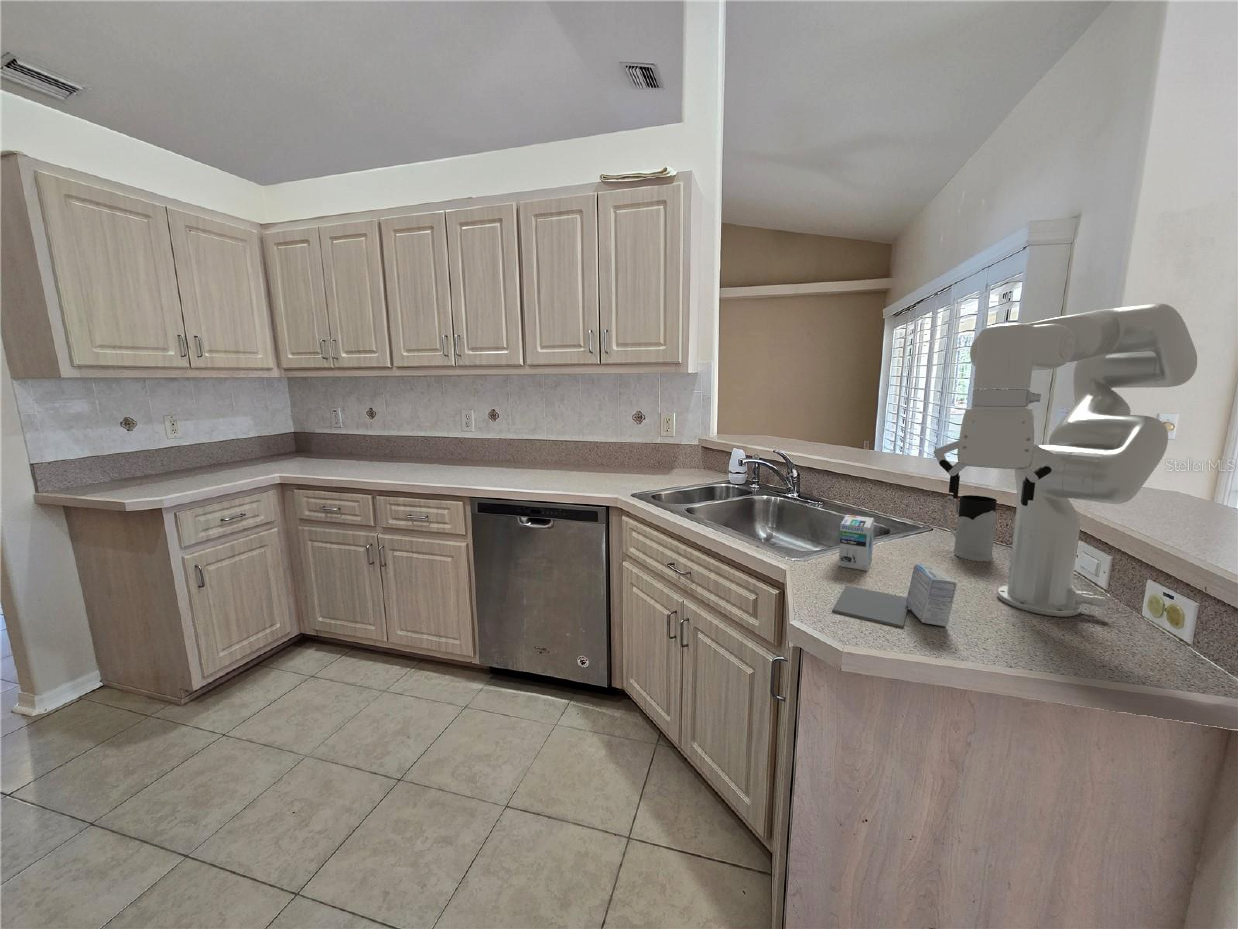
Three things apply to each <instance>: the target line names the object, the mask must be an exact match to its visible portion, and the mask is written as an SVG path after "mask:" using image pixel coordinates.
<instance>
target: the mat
mask: <svg viewBox="0 0 1238 929" xmlns="http://www.w3.org/2000/svg"><path fill="white" fill-rule="evenodd" d="M906 600H907V596H901V595H897V594H891V593H886V592H881V591H876V590H872V589H866V588H861V587H855V586H852V585H847V584H846V585H845V587H844V588H843V590H842V592H841V593H840V595H839V597H838V599H837V600H836V602H835V604H834V606H833V607H832V609H831V610H832V613H835V614H840V615H845V616H849V617H853V618H858V619H862V620H866V621H870V622H874V623H875V622H876V623H880V624H884V625H888V626H891V627H892V626H893V627H896V626H897V628H902V629H903V628H904V626H905V624H906V618H907V612H908V609H909V607H908V606H907V605H906Z"/></svg>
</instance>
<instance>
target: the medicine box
mask: <svg viewBox="0 0 1238 929" xmlns="http://www.w3.org/2000/svg"><path fill="white" fill-rule="evenodd" d="M957 586H958V583H957V582H956V581H955V580H954V579H953V578H951V576H949V575H948V574H947V573H946V572H944V571H943V570H941V569H940V568H939V567H937V566H936V567H935V566H930V565H925V564H924V565H923V564H914V567H913V570H912V575H911V578H910V584H909V587H908V591H907V596H906V597H907V600H906V605H907V606H908V609H909V610H910V611H912V613H913V614H914V615H915V616H916V617H917V618H918V620H919V621H920V622H921V623H923V624H928V625H934V626H940V627H943V628H945V627H948V625H949V619H950V615H951V611H952V608H953V603H954V598H955V595H956V591H957Z"/></svg>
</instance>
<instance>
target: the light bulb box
mask: <svg viewBox="0 0 1238 929" xmlns="http://www.w3.org/2000/svg"><path fill="white" fill-rule="evenodd" d="M839 528H840V531H839V533H840V535H839V550H838V567H843V568H848V569H849V568H850V569H852V570H853V569H854V570H859V571H866V572H868V571H869V569H870V565H871V563H872V560H873V548H874V536H875V534H874V532H875V518H874V517H867V516H859V515H853V514H852V515H851V514H846V515H845V516H844V518H843V520H842V521H841V523H840V527H839Z"/></svg>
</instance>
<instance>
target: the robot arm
mask: <svg viewBox="0 0 1238 929" xmlns="http://www.w3.org/2000/svg"><path fill="white" fill-rule="evenodd" d="M969 358H970V361H971V363H972V366H974V367H975V368H974V369H975V370H974V378H973V386H972V387H973V388H972V389H973V390H972V397H971V398H972V399H971V407H970V408H968V407H967V408H965V411H964V413H963V416H962V419H961V425H960V431H959V435H958V436H959V437H958V440H955V441H954V442H950V443H949V444H945V445H942V446H940V447H938V448H935V449H934V450H933V455H934V457H935V459H936V461H937V462H938V464H939V466H940V467H941V468H942V469H944V471H945V472H947V474H948V475H949V476H950V477H949V485H948V494H952V497H953V499H956V500H957V499H958V498H959V489H960V478H961V475H960V472H961V471H962V470H964V469H965V468H966V467H971V468H972V467H974V468H975V467H976V468H988V469H1002V470H1014V479H1015V484H1016V485H1015V486H1016V508H1015V512H1016V513H1015V518H1014V528H1013V536H1012V548H1011V555H1010V564H1009V570H1008V571H1009V572H1008V573H1009V574H1008V579H1007V580H1008V581H1007V585H1002V586H1000V587H998V588H997V590H996V596H997V597H998V599H1000V600H1001V601H1003V602H1004V603H1006V604H1008V605H1010V606H1012V607H1014V608H1017V609H1020V610H1023V611H1026V612H1030V613H1034V614H1038V615H1044V616H1049V617H1050V616H1051V617H1074V616H1076V615H1079V614H1080V613H1081V608H1082V607H1081V606H1082V604H1083V605H1088V606H1092V607H1096V608H1105V607H1106V597H1103V596H1099V595H1097V596H1096V595H1094V593H1093V592H1089V591H1080V590H1078V589H1077V588H1075V586H1074V585H1073V582H1074V574H1075V569H1076V568H1075V566H1076V559H1077V553H1078V552H1077V551H1078V544H1079V536H1080V532H1081V531H1080V529H1081V520H1080V515H1079V513H1078V511H1077V509H1076V508H1075V506H1074V505H1073V504H1072V502H1071V501H1070V499H1075V500H1082V501H1088V502H1094V503H1100V504H1109V505H1121V504H1125V503H1128V502H1129V501H1132V499H1134V497H1136V495H1137V494H1138V493H1139V492H1140V490H1141V489H1142V488H1143V486H1144V485H1145V483H1146V482H1147V481H1148V479H1149V478H1150V476H1151V475H1152V474H1153V472H1154V471H1155V469H1156V468H1157V467H1158V465H1159V464H1160V463H1161V460H1163V457H1164V455H1165V453H1166V450H1167V448H1168V442H1169V431H1168V428H1167V426H1166V425H1165V423H1164V422H1163V421H1162V420H1160V419H1158V418H1156V417H1153V416H1150V415H1149V416H1148V415H1143V414H1142V415H1137V414H1131V411H1132V410H1131V408H1130V406H1129V404H1128V403H1127V401H1126V400H1125V399H1124V398H1123V397H1122V396H1121V395H1120V394H1119V393H1118V392H1116V391H1115V390H1113V389H1114V388H1115V389H1118V388H1120V389H1121V388H1124V389H1125V388H1126V389H1131V388H1133V389H1134V388H1136V389H1137V388H1147V389H1148V388H1171V387H1172V388H1173V387H1178V386H1182V385H1184V384H1186V383H1187V382H1188V381H1190V380H1191V379H1192V377H1194V375H1195V373H1196V371H1197V367H1198V355H1197V350H1196V347H1195V344H1194V341H1193V340H1192V337H1191V334H1190V333H1189V329H1188V327H1187V325H1186V322H1185V321H1184V318H1183V317H1182V315H1181V314H1180V313H1179V311H1178V310H1177V309H1175V308H1174V307H1172V306H1171V305H1169V304H1166V303H1150V304H1149V303H1148V304H1142V305H1134V306H1131V305H1130V306H1123V307H1115V308H1103V309H1097V310H1093V311H1092V310H1091V311H1087V312H1082V313H1077V314H1070V315H1065V316H1059V317H1053V318H1048V319H1047V318H1046V319H1044V320H1039V321H1033V322H1027V323H1023V322H1020V323H1018V322H1017V323H1016V322H1015V323H1014V322H1013V323H1002V324H994V325H990V326H987V327H984V328H983V329H981V330H980V332H979V334H978V335H977V336H976V338H975V339H974V340H973V342H972V344H971V347H970V351H969ZM1074 362H1075V365H1074V368H1073V398H1074V404H1073V406H1072V408H1071V409H1070V410H1069V411H1068V412H1067V413H1066V415H1064V417H1063V418H1062V419H1061V420H1060V422H1058V424H1057V425H1056V426H1055V427H1054V430H1052V432H1051V434H1050V436H1049V439H1048V444H1040V445H1038V444H1036V443H1035V425H1034V424H1035V419H1034V418H1035V417H1034V411H1033V410H1034V409H1032V408H1030V409H1029V405H1030V404H1032V403H1033V404H1034V403H1041V398H1042V397H1041V396H1042V394H1041V393H1035V392H1033V391H1031V382H1032V374H1033V371H1048V370H1054V369H1057V368H1061V367H1062V366H1064V365H1065V364H1067V363H1074ZM955 450H957V453H956V454H957V455H956V456H957V457H956V458H957V462H956V463H955V464H951V462H950V461H948V459H947V458H946V455H945V454H947V453H950V452H952V451H955ZM953 499H952V500H953Z"/></svg>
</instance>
